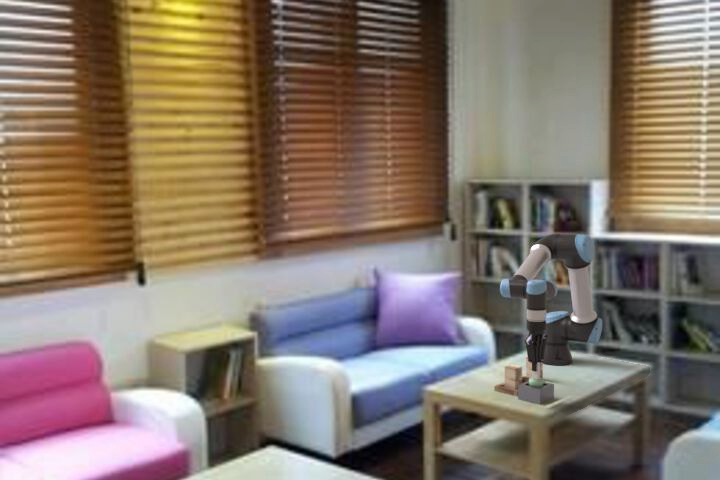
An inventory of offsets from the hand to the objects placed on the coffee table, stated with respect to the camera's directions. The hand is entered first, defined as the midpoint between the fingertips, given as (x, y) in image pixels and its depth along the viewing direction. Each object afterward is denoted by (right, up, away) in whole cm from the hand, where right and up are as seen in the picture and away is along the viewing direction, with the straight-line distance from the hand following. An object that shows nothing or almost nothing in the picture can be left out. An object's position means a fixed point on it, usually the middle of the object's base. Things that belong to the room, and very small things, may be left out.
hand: (535, 378), depth 326 cm
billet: (+6, -6, +31) cm, 32 cm away
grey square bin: (0, -9, +1) cm, 9 cm away
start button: (0, -3, 0) cm, 3 cm away
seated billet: (-7, -7, +13) cm, 16 cm away
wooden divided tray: (-3, -8, +16) cm, 18 cm away
